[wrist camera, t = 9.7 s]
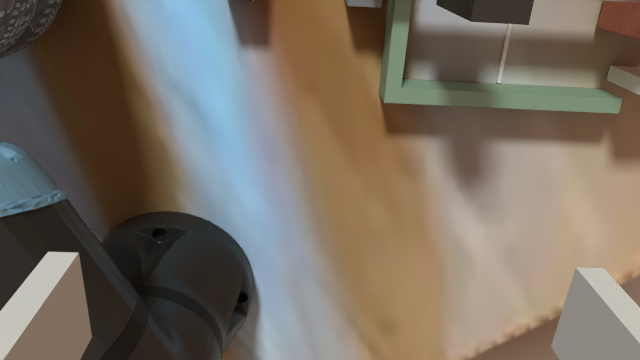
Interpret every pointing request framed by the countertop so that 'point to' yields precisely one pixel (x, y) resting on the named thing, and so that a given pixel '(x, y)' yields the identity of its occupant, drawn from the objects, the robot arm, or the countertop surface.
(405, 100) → the pitch
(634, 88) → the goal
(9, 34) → the grey textured round piece
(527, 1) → the kicker rod
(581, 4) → the countertop surface
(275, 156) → the countertop surface
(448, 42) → the countertop surface
